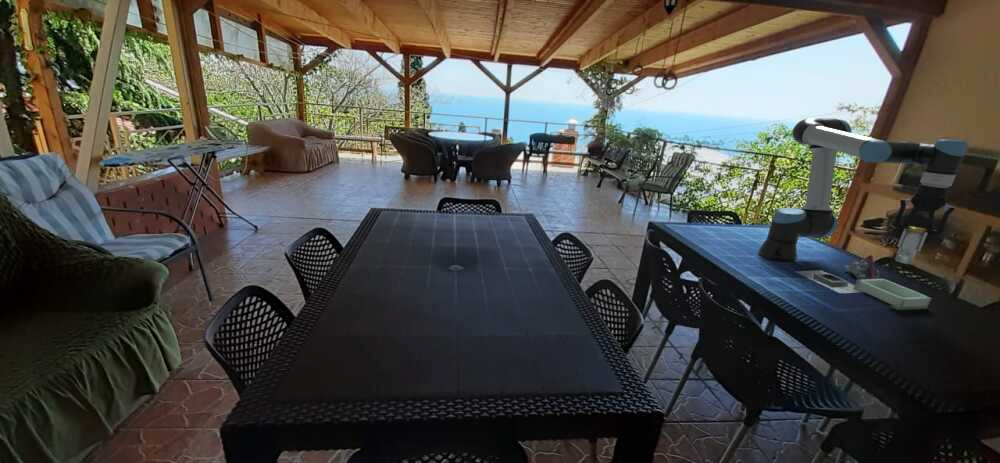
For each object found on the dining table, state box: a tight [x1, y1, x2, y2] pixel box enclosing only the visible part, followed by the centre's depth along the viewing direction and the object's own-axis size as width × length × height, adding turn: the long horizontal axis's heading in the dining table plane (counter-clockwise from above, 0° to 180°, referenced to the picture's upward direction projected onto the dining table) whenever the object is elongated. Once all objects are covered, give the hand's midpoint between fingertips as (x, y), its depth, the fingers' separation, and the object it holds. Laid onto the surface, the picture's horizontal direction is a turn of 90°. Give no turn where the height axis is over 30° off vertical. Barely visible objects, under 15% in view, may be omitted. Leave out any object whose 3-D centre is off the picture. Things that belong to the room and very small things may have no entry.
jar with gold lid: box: [894, 225, 927, 265], centre depth 141 cm, size 5×5×13 cm
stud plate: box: [794, 270, 864, 294], centre depth 159 cm, size 20×14×2 cm
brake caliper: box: [844, 254, 880, 280], centre depth 165 cm, size 11×11×12 cm
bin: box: [854, 278, 932, 311], centre depth 148 cm, size 16×13×4 cm
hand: (908, 248), depth 142 cm, fingers closed on jar with gold lid, 4 cm apart
